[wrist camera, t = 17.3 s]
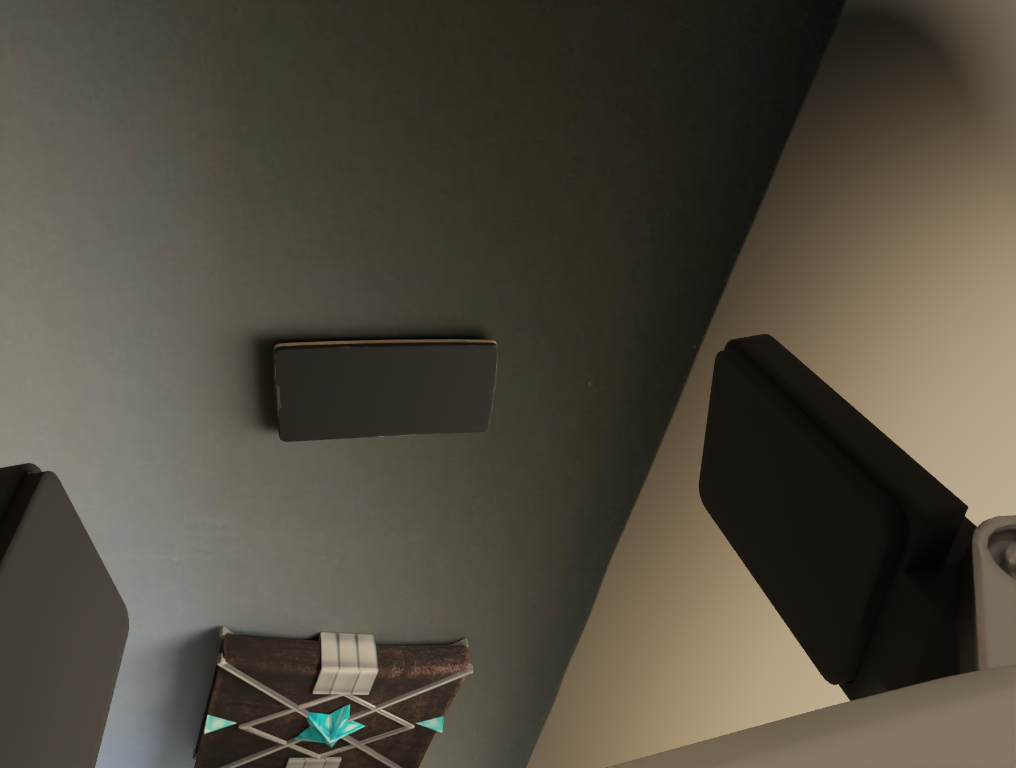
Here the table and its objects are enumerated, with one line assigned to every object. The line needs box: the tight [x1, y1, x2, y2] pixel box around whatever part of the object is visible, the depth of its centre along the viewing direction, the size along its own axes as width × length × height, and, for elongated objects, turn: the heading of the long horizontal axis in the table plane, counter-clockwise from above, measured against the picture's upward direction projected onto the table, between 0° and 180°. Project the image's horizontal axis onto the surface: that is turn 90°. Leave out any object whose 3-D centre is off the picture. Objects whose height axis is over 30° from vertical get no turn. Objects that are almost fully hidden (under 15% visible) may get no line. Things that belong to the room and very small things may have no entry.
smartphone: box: [274, 339, 498, 442], centre depth 49 cm, size 7×1×15 cm
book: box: [193, 626, 474, 768], centre depth 63 cm, size 22×17×5 cm
